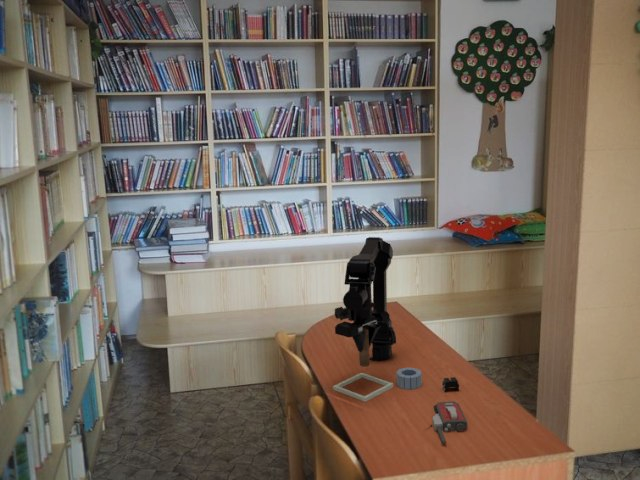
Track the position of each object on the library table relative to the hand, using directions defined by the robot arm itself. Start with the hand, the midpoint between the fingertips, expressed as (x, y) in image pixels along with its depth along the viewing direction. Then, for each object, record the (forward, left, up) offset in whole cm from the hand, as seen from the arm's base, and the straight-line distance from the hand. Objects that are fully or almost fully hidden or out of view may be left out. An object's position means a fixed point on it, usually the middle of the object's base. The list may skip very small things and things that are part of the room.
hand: (363, 349), depth 196 cm
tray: (0, -1, -13) cm, 13 cm away
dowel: (0, 0, -5) cm, 5 cm away
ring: (-11, +8, -13) cm, 19 cm away
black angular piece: (-15, +20, -14) cm, 29 cm away
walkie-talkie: (+2, +32, -14) cm, 35 cm away
